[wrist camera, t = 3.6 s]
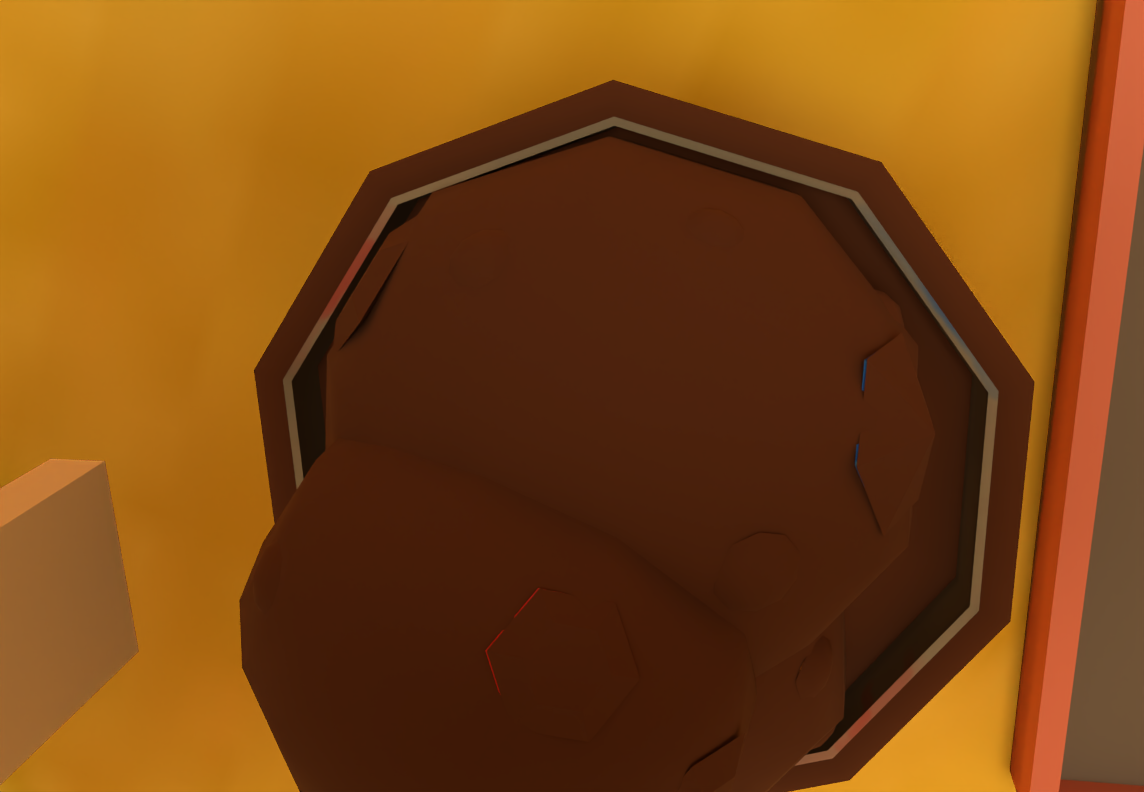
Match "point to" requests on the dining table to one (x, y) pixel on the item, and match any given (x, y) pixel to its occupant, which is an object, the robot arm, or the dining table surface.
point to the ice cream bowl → (627, 465)
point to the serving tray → (1094, 460)
